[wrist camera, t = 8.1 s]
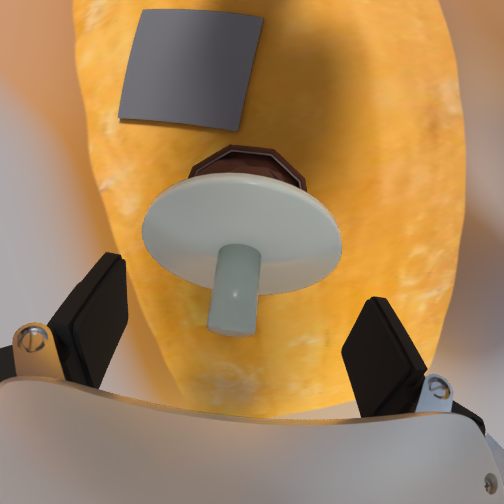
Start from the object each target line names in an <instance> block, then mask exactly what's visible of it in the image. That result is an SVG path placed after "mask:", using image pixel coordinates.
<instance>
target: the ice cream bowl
mask: <svg viewBox="0 0 504 504" xmlns="http://www.w3.org/2000/svg"><path fill="white" fill-rule="evenodd" d="M215 173H246V174H253V175H259V176H264V177H268V178H272V179H276V180H280V181H282V182H285V183H288V184H290V185H293V186H295V187H297V188H299V189H301V190H303V191H305V192H307V188H306V182H305V178H304V177H303V176H302V175H301V174H300V173H299V172H298V171H297V170H295V169H294V168H293V167H292V166H291V165H290V164H289V163H288V162H287V161H286V160H285V159H284V158H283V157H282V156H281V155H280V154H279V153H277V152H276V151H275V150H274V149H267V148H258V147H249V146H239V145H228V146H227V147H225V148H223V149H222V150H220V151H218V152H216V153H215V154H213V155H211V156H210V157H208V158H206V159H205V160H203V161H201V162H200V163H198V164H197V165H195V166H193V167H192V170H191V172H190V175H189V177H188V179H189V178H192V177H196V176H201V175H207V174H215Z"/></svg>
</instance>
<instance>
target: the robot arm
mask: <svg viewBox="0 0 504 504" xmlns="http://www.w3.org/2000/svg"><path fill="white" fill-rule="evenodd" d="M127 322H128V304H127V286H126V261H125V260H124V259H122V257H121V255H119V254H114V253H109V252H106V253H105V254H104V255H103V256H102V257H101V258H100V260H99V261H98V262H97V263H96V264H95V265H94V267H93V268H92V269H91V270H90V272H89V273H88V274H87V275H86V276H85V278H84V279H83V280H82V281H81V282H80V283H78V284H77V285H76V287H75V288H74V289H73V290H72V292H71V293H70V294H69V296H68V297H67V298H66V300H65V301H64V302H63V304H62V305H61V306H60V307H59V309H58V310H57V312H56V313H55V314H54V316H53V317H52V318H51V320H50V321H49V323H48V324H47V325H44V324H42V323H36V322H35V323H28V324H26V325H23V326H22V327H20V328H19V329H18V330H17V331H16V332H15V334H14V336H13V342H12V343H13V345H10V346H7V347H3V348H0V504H504V449H503V448H502V447H501V446H500V445H499V444H498V443H497V442H496V441H495V440H494V439H493V438H492V437H491V436H490V435H489V434H488V433H487V434H486V435H485V425H484V422H483V420H482V419H481V418H480V417H479V416H477V415H476V414H474V413H473V412H471V411H469V410H468V409H466V408H465V407H463V406H461V405H459V404H458V403H456V402H455V401H453V389H452V387H451V385H450V383H448V381H447V380H446V379H445V378H443V377H442V376H440V375H437V374H430V375H428V376H427V377H426V378H425V376H424V373H425V372H426V371H427V367H426V365H425V363H424V361H423V360H422V358H421V356H420V354H419V352H418V351H417V349H416V347H415V345H414V344H413V342H412V340H411V338H410V337H409V335H408V333H407V332H406V330H405V328H404V327H403V325H402V323H401V322H400V320H399V318H398V317H397V315H396V313H395V312H394V310H393V309H392V307H391V305H390V304H389V302H388V301H387V299H386V298H382V297H374V296H373V297H371V298H370V300H367V301H366V302H365V304H364V306H363V308H362V310H361V312H360V314H359V316H358V318H357V320H356V322H355V324H354V326H353V328H352V330H351V332H350V334H349V336H348V338H347V339H346V341H345V343H344V345H343V347H342V351H341V354H342V358H343V361H344V364H345V367H346V370H347V373H348V376H349V379H350V382H351V386H352V389H353V392H354V395H355V398H356V402H357V405H358V408H359V411H360V415H361V418H352V419H329V420H288V419H266V418H251V417H240V416H230V415H221V414H213V413H206V412H199V411H193V410H186V409H180V408H175V407H170V406H165V405H160V404H155V403H151V402H146V401H142V400H138V399H133V398H128V397H125V396H121V395H117V394H113V393H110V392H106V391H103V390H99V387H100V385H101V382H102V380H103V377H104V375H105V373H106V370H107V368H108V365H109V363H110V360H111V358H112V356H113V354H114V352H115V349H116V347H117V345H118V343H119V340H120V338H121V336H122V333H123V332H124V329H125V327H126V325H127Z"/></svg>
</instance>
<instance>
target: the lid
mask: <svg viewBox="0 0 504 504" xmlns="http://www.w3.org/2000/svg"><path fill="white" fill-rule="evenodd" d="M142 238H143V241H144V244H145V246H146V248H147V250H148V252H149V253H150V254H151V256H152V257H153V258H154V259H155V260H156V261H157V262H158V263H159V264H160V265H161V266H163V267H164V268H165V269H167V270H168V271H170V272H171V273H173V274H174V275H176V276H178V277H180V278H182V279H184V280H186V281H188V282H191V283H193V284H196V285H199V286H202V287H205V288H208V289H212V295H211V301H210V308H209V315H208V321H207V329H208V330H209V331H211V332H214V333H217V334H220V335H225V336H232V337H247V336H252V335H254V334H255V329H256V318H257V306H258V295H272V294H281V293H287V292H292V291H296V290H299V289H303V288H306V287H308V286H311V285H313V284H315V283H317V282H319V281H321V280H322V279H324V278H325V277H327V276H328V275H329V274H330V273H331V272H332V271H333V270H334V269H335V267H336V266H337V264H338V262H339V260H340V258H341V254H342V242H341V233H340V229H339V226H338V224H337V222H336V220H335V218H334V216H333V215H332V214H331V212H330V211H329V210H328V209H327V208H326V207H325V206H324V205H323V204H322V203H321V202H320V201H319V200H317V199H316V198H314V197H313V196H311V195H310V194H309V193H307V192H305V191H303V190H301V189H299V188H297V187H295V186H293V185H290V184H288V183H285V182H282V181H280V180H276V179H272V178H268V177H264V176H259V175H253V174H246V173H215V174H207V175H201V176H196V177H192V178H189V179H186V180H183V181H180V182H178V183H176V184H174V185H172V186H170V187H168V188H167V189H165V190H164V191H163V192H161V193H160V194H159V195H158V196H157V197H156V198H155V199H154V200H153V202H152V203H151V205H150V206H149V208H148V211H147V214H146V216H145V219H144V222H143V225H142Z"/></svg>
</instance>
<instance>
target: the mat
mask: <svg viewBox="0 0 504 504" xmlns="http://www.w3.org/2000/svg"><path fill="white" fill-rule="evenodd" d="M263 20H264V18H261V17H256V16H250V15H243V14H236V13H228V12H219V11H207V10H190V9H147V10H143V11H142V14H141V17H140V20H139V24H138V27H137V30H136V34H135V38H134V41H133V45H132V49H131V53H130V57H129V61H128V66H127V70H126V75H125V79H124V84H123V90H122V95H121V101H120V107H119V113H118V118H127V119H142V120H154V121H165V122H174V123H183V124H191V125H198V126H205V127H212V128H219V129H225V130H231V131H236V132H238V128H239V124H240V119H241V114H242V109H243V105H244V100H245V96H246V91H247V87H248V82H249V78H250V73H251V69H252V65H253V60H254V56H255V52H256V48H257V44H258V40H259V36H260V32H261V28H262V24H263Z"/></svg>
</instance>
